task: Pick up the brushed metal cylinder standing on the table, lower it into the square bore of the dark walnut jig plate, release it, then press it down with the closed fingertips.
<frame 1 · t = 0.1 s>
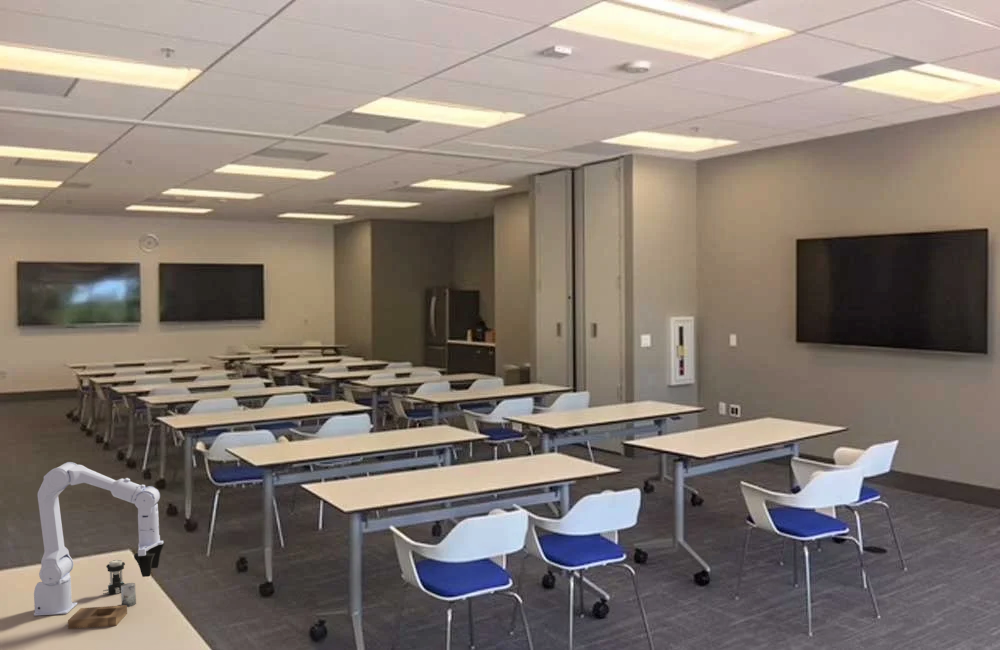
hand: (150, 572, 247), 10 cm above the table, tool pointing down, fingers open, 7 cm apart
jig: (96, 621, 235), on the table
brushed metal cylinder: (128, 604, 247), on the table
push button: (114, 593, 257), on the table
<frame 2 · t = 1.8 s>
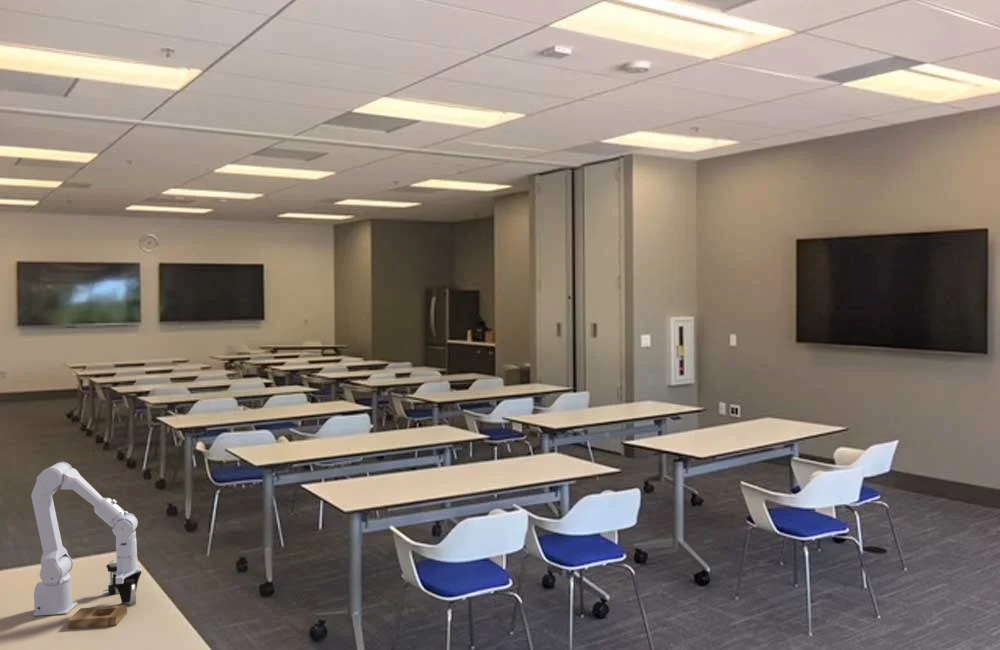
hand: (128, 599, 247), 2 cm above the table, tool pointing down, fingers closed on brushed metal cylinder, 4 cm apart
brushed metal cylinder: (128, 604, 247), on the table, touching gripper
everything else where it was.
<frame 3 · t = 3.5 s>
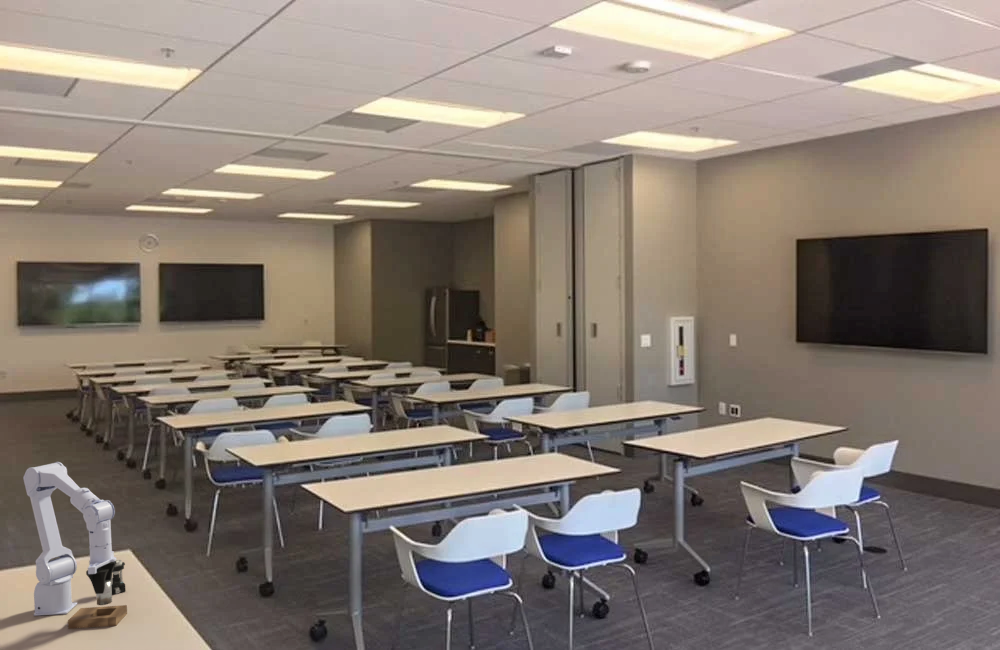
hand: (102, 590, 235), 9 cm above the table, tool pointing down, fingers closed on brushed metal cylinder, 4 cm apart
brushed metal cylinder: (104, 602, 235), point 5 cm above the table, touching gripper
everything else where it was.
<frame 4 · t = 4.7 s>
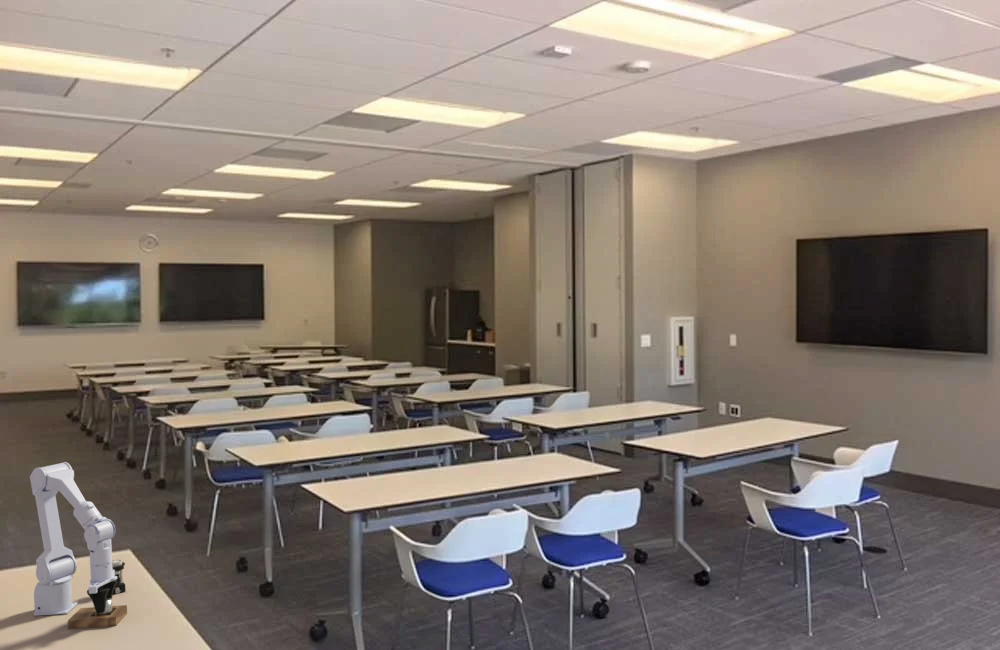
hand: (103, 609, 235), 3 cm above the table, tool pointing down, fingers closed on brushed metal cylinder, 4 cm apart
brushed metal cylinder: (105, 620, 235), resting in jig, touching gripper
everything else where it was.
when the fingers open (3 cm above the table, at t = 5.0 s): brushed metal cylinder stays where it is, resting in jig.
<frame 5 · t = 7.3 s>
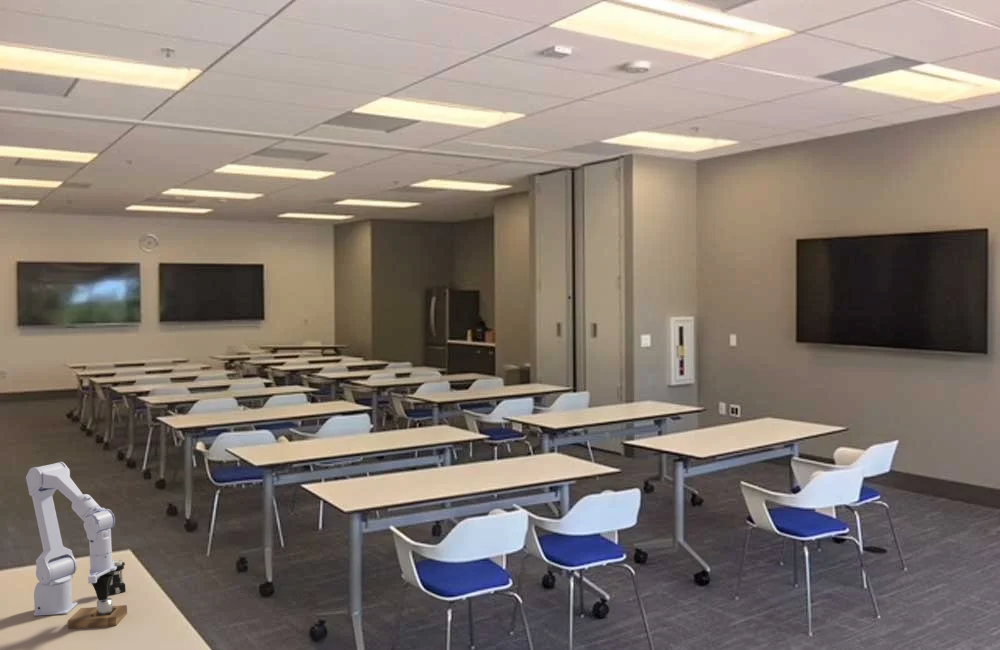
hand: (102, 599, 235), 6 cm above the table, tool pointing down, fingers closed
brushed metal cylinder: (105, 620, 235), resting in jig
everything else where it was.
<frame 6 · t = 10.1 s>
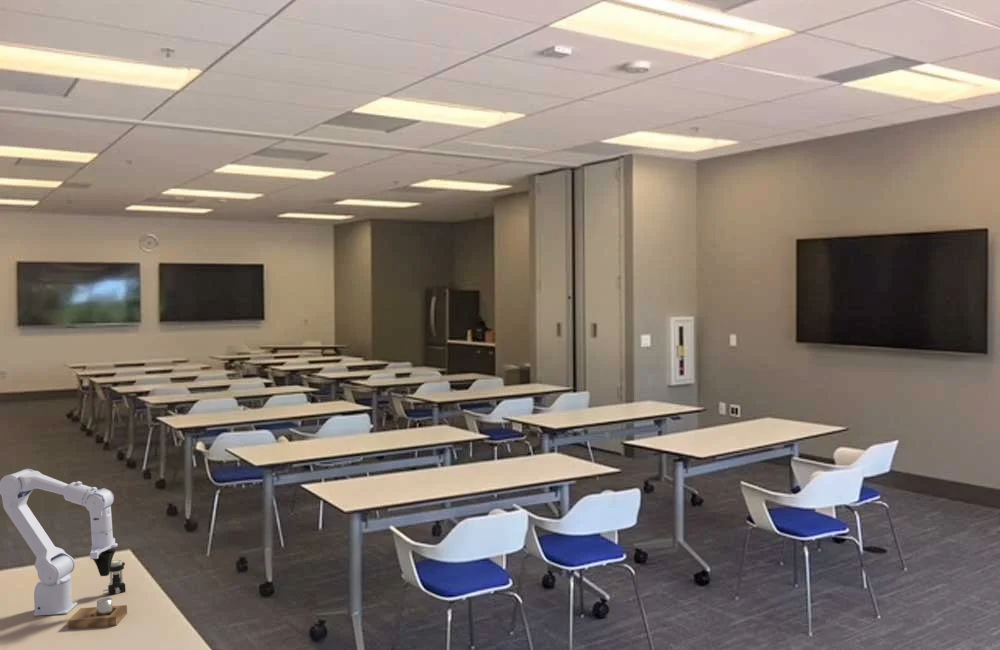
hand: (104, 575, 243), 10 cm above the table, tool pointing down, fingers closed
nothing on the table moved.
at the end: brushed metal cylinder 0.4 cm from the target spot on the jig, point 0.0 cm above the jig's base; brushed metal cylinder tilted 0°; the gripper is holding nothing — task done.
